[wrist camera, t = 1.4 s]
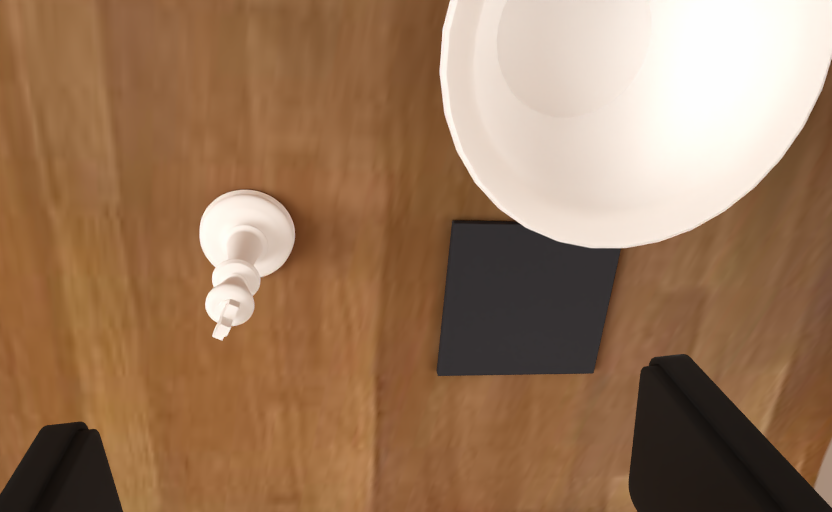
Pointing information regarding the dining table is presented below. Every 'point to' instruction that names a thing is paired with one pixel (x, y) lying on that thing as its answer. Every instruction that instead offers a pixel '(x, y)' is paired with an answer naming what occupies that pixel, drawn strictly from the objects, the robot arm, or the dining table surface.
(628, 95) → the bowl
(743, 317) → the dining table surface
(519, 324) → the coaster
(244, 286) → the chess piece
